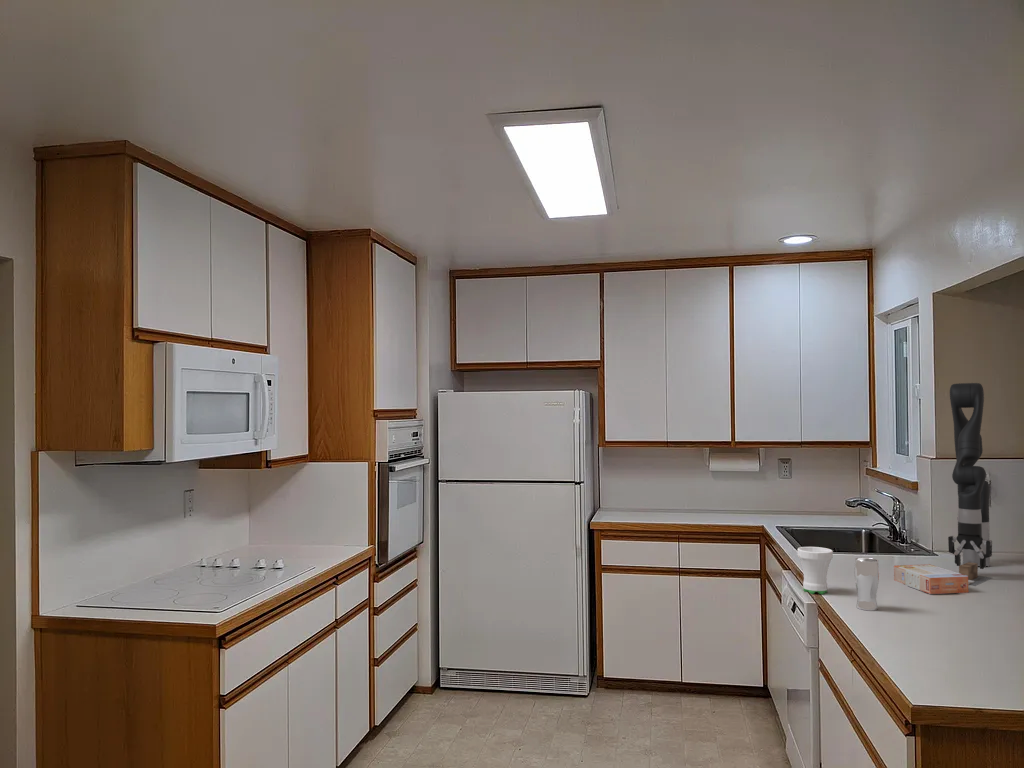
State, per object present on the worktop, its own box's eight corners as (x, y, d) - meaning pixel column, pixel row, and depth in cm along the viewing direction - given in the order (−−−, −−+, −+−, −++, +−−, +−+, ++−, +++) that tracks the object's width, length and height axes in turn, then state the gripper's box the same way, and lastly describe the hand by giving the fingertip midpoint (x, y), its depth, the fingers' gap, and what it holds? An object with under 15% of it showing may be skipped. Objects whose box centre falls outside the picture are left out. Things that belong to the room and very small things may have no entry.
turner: (962, 575, 296) (962, 561, 296) (983, 578, 291) (983, 564, 291) (946, 582, 284) (945, 567, 284) (967, 585, 279) (967, 570, 279)
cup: (836, 596, 264) (835, 553, 265) (800, 595, 267) (800, 551, 267) (829, 589, 275) (829, 547, 276) (795, 587, 278) (795, 546, 278)
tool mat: (959, 574, 299) (959, 573, 299) (992, 579, 291) (992, 577, 291) (940, 582, 286) (940, 580, 286) (975, 587, 278) (975, 585, 278)
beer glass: (858, 604, 254) (858, 556, 255) (882, 608, 250) (881, 559, 250) (851, 608, 249) (851, 559, 249) (875, 612, 245) (875, 562, 245)
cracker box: (893, 582, 288) (929, 594, 267) (893, 564, 288) (929, 576, 267) (930, 580, 289) (969, 593, 268) (930, 563, 289) (969, 575, 269)
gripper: (995, 522, 289) (995, 568, 289) (951, 518, 300) (952, 562, 299) (988, 524, 284) (989, 571, 284) (944, 520, 294) (945, 565, 294)
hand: (970, 567), depth 291 cm, fingers open, 7 cm apart
